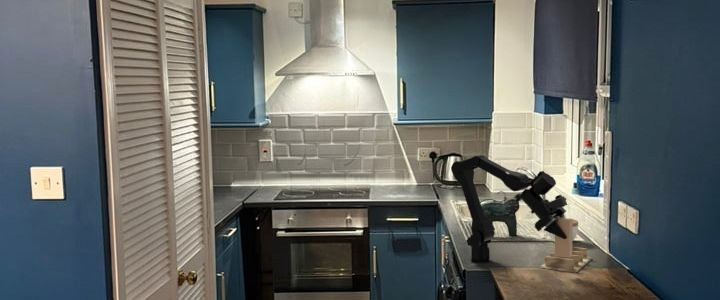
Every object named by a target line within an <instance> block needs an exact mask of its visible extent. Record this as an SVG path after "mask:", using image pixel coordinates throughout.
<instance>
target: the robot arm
mask: <svg viewBox="0 0 720 300" xmlns="http://www.w3.org/2000/svg"><path fill="white" fill-rule="evenodd" d="M478 168H479V169H481V170H483V171H484V172H486V173H488V174H490V175H491V176H493V177H495V178H497V179H499V180H501V181H502V183H503V184H504V186H506V188H507V189H509V190H511V191H512V192H519V191H522V192H519V193H516V194H515V195H516V202H519V203H520V202H521V201H522V202H524V203H525V204H526V206H527V207H528V208H529V209H530V210H531V211H530V213H531V214H532V215H533V214H534V215H536V217H538V220H537V221H535V223H534V229H535V230H536V231H538V232H540V231H541V230H542V229H543V228H544V227H545V228H544V229H543V232H547V233H548V232H549V233H552V234H554V235H556V236H558V237H561V238H563V239H566V238H567V236H566V235H565V233H564V232H563V230H562V229H561V228H560V226H559V225H558V217H559V218H565V213H566V212H567V210H566V209H565V208H564V207H566V206H567V205H568V203H567V198H566V197H565V196H563V195H562V194H558V195H556V196H555V197H554V199H553V200H551V201H550V200H548V199H544V198H543V197H542V196H545V195H547V193H549V192H550V191H551V190H552V189H553V188H554V187H555V186H556V185H557V181H556V180H555V178H554V177H553V176H551V175H550V174H549V173H546V172H545V170H541V171H539V172H538V173H537V175H535V177H533V178H532V177H529V176H528V175H527V174H525V173H522V172H519V171H514V170H510V169H508V168H506V167H504V166H502V165H501V164H499V163H497V162H495V161H493V160H492V159H489V158H487V157H486V156H485V155H483V154H478V155H474V156H472V157H470V158H467V159H464V160H463V159H462V160H458V161H454V162H453V163H452V165H451V167H450V171H451V173H452V175H453V177H454V179H455V180H456V181H457V183H459V185H460V186H461V190H462V193H463V196H464V199H465V203H466V205H467V208H468V212H469V214H470V217H471V221H472V222H471V227H470V228H471V229H470V230H471V235H469V237H468V238H467V239H466V243H467V246H470V262H472V263H489V262H490V261H489V260H490V258H491V257H490V255H491V254H490V248H489V244H491V242H492V239H494V237H495V235H496V234H495V233H496V232H495V231H496V228H495V227H494V222H492V220H487V219H486V217H485V216H484V213H483V210H482V207H481V205H482V204H481V203H480V202H481V201H480V198H479V195H478V193H477V189H476V186H475V183H474V178H475V177H474V176H475V169H478Z"/></svg>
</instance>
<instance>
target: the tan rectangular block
mask: <svg viewBox="0 0 720 300" xmlns="http://www.w3.org/2000/svg"><path fill="white" fill-rule="evenodd" d="M558 225H559V226H560V228H561V229H562V230H563V232H564V233H565V235H566V236H567V238H566V239H563V238H561V237H558V236H556V235H555V243H554V253H555V256H559V257H566V258H570V257H571V256H572V247H573V241H572V239H573V218H569V217H567V218H566V217H564V218H559V217H558Z"/></svg>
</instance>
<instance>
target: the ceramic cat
mask: <svg viewBox="0 0 720 300" xmlns="http://www.w3.org/2000/svg"><path fill="white" fill-rule="evenodd" d="M500 193H503V194H504V196H503V198H504V199H503V200H500V201H499V200H496V199H493V198H486V199H482V200H481V201H480V204H481V203H482V202H484V203H482V204H481V207H482V210H483V213H484V216H485V217H486V219H487V220H492V222H493V223H494V222H495V223H496V222H497V223H498V222H499V223H504V224H505V226H506V228H507V231H508V232H507V233H508V236H509V237H517V234H518V233H517V232H518V224H517V223H518V222H517V214H516V213H517V212H518V211H519V209H520V201H519V202H516V195H517V194H515V195H514V196H513V197H507V195H506V192H505V191H502V190H500V191H498V192H497V193H496V195H499V194H500ZM489 200H490V201H489ZM485 201H486V202H485ZM487 201H488V202H487Z"/></svg>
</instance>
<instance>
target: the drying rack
mask: <svg viewBox="0 0 720 300" xmlns="http://www.w3.org/2000/svg"><path fill="white" fill-rule="evenodd" d="M592 258H593V257H591V256H588V248H587V247H585V248H584V247H578V246H572V256H571V257H570V258H566V257H559V256H555V252H550V253H549V255H547V256H544V263H542V264H541V265H540V266H539V268H540V269H545V270H546V269H547V270H554V271H560V272H570V273H576V272H577V273H578V272H579V271H580V270H581V269H582V268H584V267H585V266H586V265H587V264H588V263H589V262H590V261H591V260H592Z"/></svg>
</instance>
